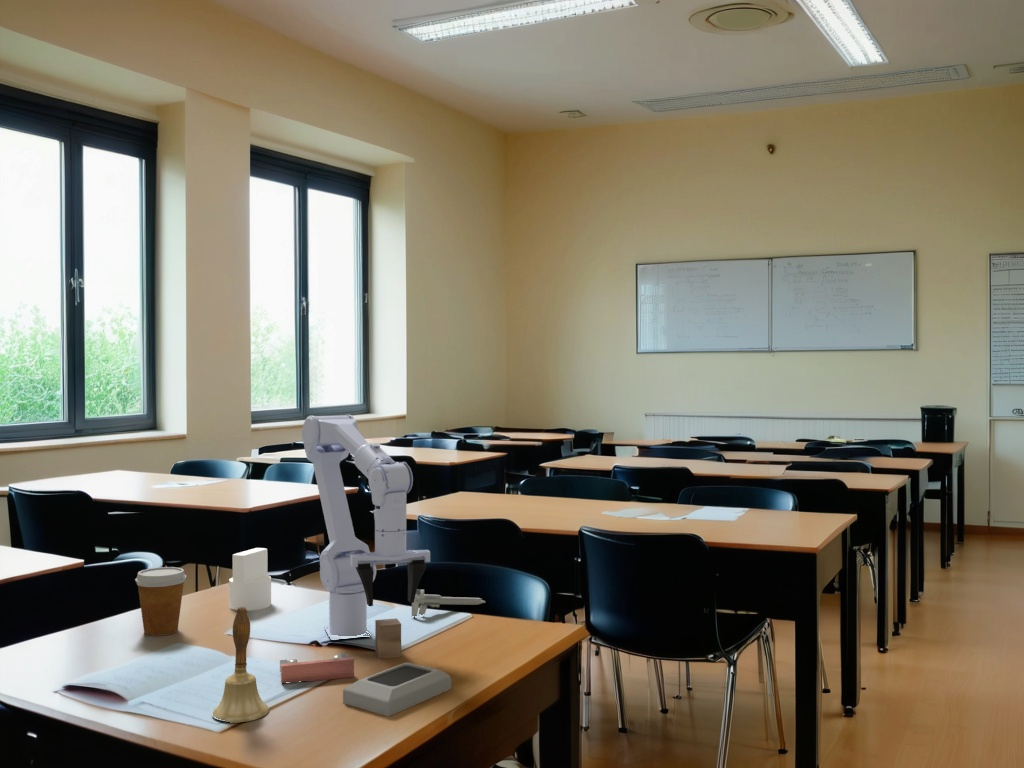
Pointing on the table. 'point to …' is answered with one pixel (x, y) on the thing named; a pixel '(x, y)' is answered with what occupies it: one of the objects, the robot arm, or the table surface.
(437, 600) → the caliper
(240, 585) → the cylinder with rectangular tab
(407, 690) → the bevelled grey desktop device
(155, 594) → the disposable coffee cup
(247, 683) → the hand bell
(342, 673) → the block
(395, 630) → the block
